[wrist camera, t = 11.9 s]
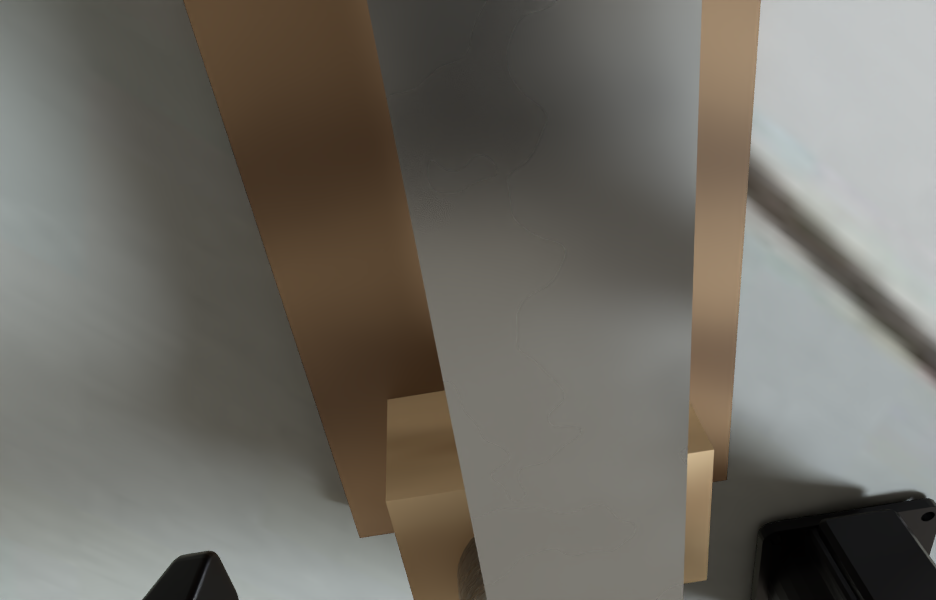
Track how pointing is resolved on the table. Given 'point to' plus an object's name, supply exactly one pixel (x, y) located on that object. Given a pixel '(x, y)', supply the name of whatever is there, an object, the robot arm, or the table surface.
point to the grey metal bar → (556, 276)
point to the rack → (398, 269)
